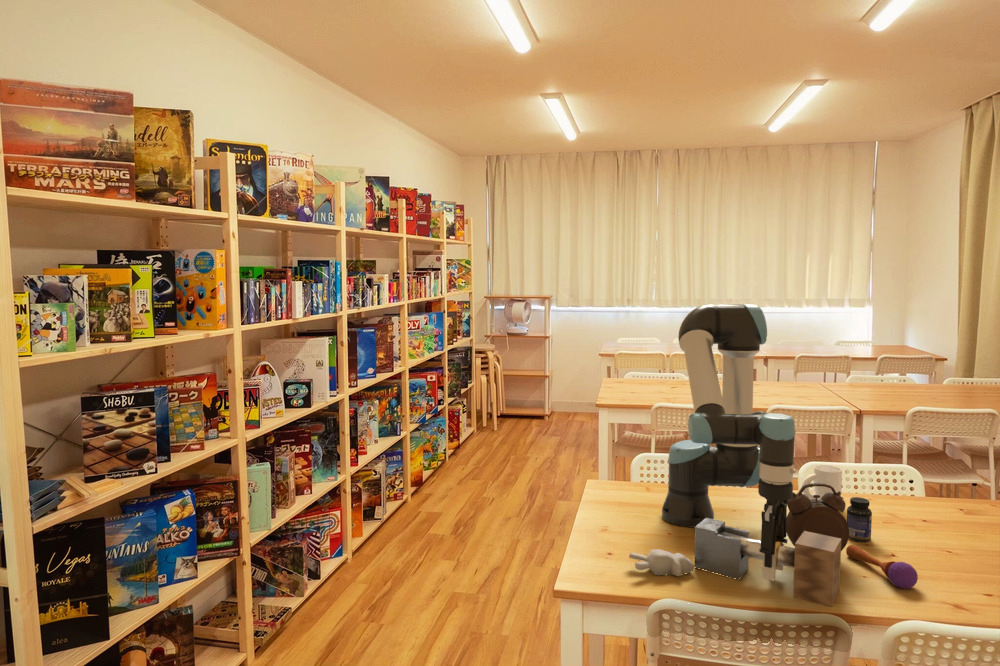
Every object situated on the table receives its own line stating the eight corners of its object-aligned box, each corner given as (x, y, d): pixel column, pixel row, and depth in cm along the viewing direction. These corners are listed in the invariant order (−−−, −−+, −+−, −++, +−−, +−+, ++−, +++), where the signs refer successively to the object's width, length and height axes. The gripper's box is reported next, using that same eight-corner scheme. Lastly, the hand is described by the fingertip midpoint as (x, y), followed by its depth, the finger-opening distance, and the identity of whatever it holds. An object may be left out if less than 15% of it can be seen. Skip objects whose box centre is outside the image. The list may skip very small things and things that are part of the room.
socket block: (793, 596, 151) (795, 543, 150) (802, 581, 158) (804, 530, 157) (831, 606, 146) (833, 552, 145) (839, 590, 154) (841, 538, 152)
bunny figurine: (699, 563, 160) (638, 559, 158) (696, 584, 160) (636, 579, 159) (685, 547, 169) (628, 543, 168) (683, 566, 169) (626, 562, 168)
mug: (795, 501, 213) (796, 464, 212) (832, 500, 214) (833, 464, 212) (807, 510, 205) (809, 472, 204) (845, 509, 205) (847, 472, 204)
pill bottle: (874, 543, 180) (875, 504, 179) (849, 541, 181) (851, 503, 180) (866, 534, 186) (868, 496, 185) (842, 533, 187) (844, 495, 186)
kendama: (863, 540, 173) (925, 568, 153) (860, 563, 173) (921, 593, 153) (843, 538, 172) (903, 565, 152) (840, 561, 171) (899, 591, 152)
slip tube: (714, 556, 163) (715, 532, 163) (722, 547, 168) (723, 525, 167) (796, 576, 152) (797, 551, 151) (802, 567, 157) (803, 542, 156)
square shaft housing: (694, 568, 166) (695, 526, 165) (705, 557, 172) (705, 517, 171) (738, 580, 159) (739, 537, 158) (748, 568, 165) (749, 527, 164)
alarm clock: (836, 553, 174) (839, 479, 172) (849, 565, 167) (852, 488, 165) (780, 552, 175) (782, 478, 173) (790, 564, 168) (793, 487, 166)
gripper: (781, 494, 146) (778, 594, 148) (802, 472, 161) (799, 563, 163) (747, 487, 151) (744, 584, 153) (770, 467, 166) (767, 556, 168)
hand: (772, 573), depth 158 cm, fingers closed on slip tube, 6 cm apart
